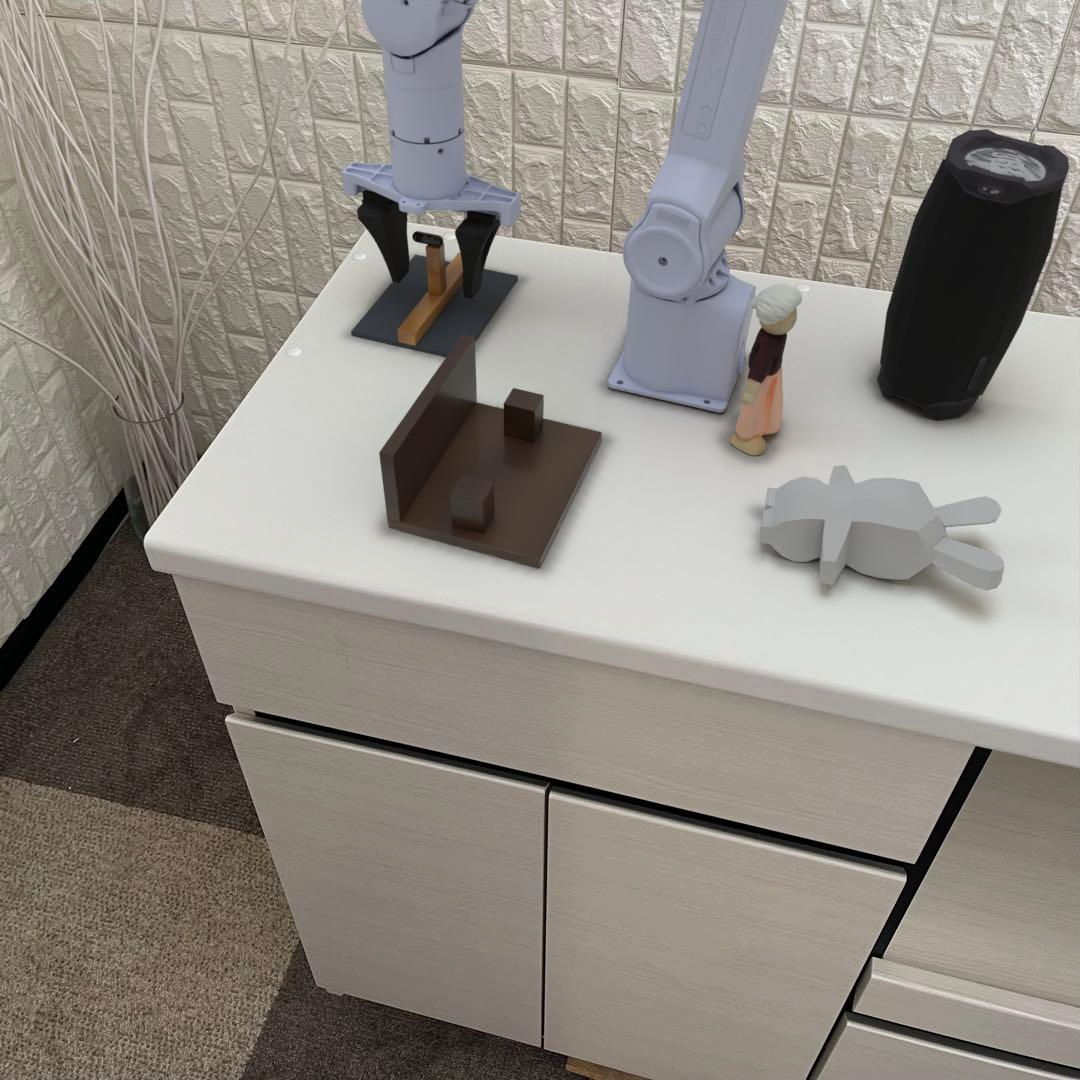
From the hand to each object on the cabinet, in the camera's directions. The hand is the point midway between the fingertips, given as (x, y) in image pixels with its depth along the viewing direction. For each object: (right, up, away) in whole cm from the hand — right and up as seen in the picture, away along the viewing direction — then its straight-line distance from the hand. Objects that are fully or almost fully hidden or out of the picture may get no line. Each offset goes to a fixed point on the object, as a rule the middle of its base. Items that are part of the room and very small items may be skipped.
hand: (436, 284), depth 90 cm
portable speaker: (+40, -10, -5) cm, 41 cm away
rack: (+6, -17, -14) cm, 23 cm away
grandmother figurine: (+25, -14, -9) cm, 30 cm away
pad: (0, -1, +2) cm, 2 cm away
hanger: (0, -1, +1) cm, 2 cm away
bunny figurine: (+31, -23, -18) cm, 43 cm away
